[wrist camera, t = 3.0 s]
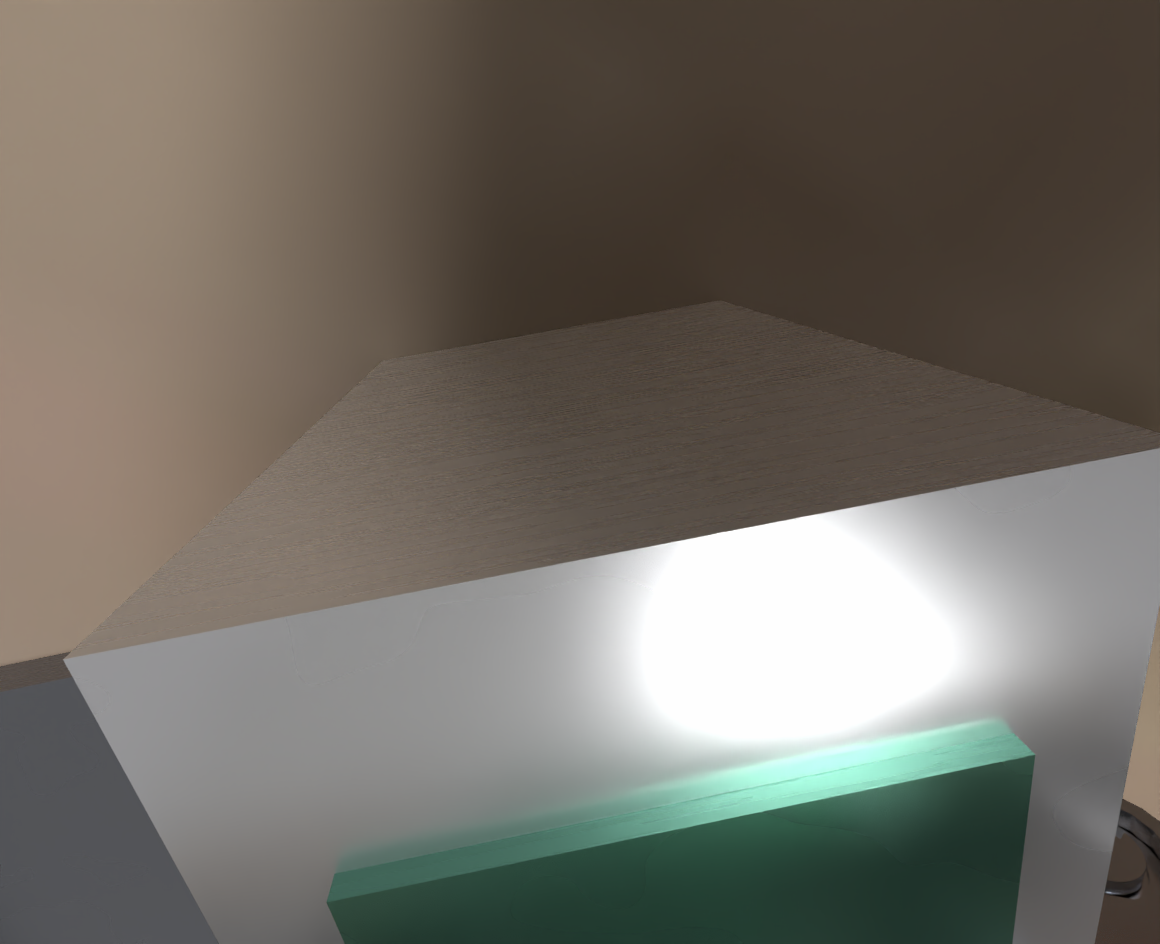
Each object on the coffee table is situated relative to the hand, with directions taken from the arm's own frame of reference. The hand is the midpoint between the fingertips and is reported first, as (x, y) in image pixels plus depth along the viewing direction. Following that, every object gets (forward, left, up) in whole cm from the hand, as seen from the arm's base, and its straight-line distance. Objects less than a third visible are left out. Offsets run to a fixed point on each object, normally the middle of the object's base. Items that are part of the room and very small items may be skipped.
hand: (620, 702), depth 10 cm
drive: (0, 0, -2) cm, 2 cm away
